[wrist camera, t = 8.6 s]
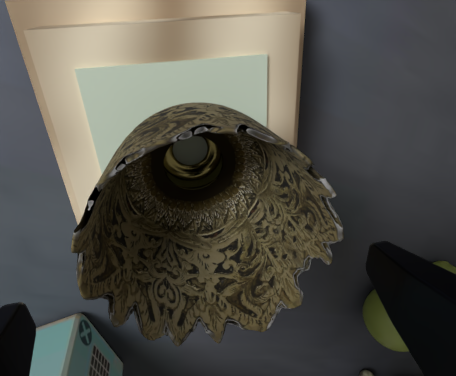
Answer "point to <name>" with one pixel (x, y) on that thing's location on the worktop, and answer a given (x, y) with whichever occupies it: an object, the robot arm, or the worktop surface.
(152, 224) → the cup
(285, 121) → the oak plinth
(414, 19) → the worktop surface
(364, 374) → the tabletop clock
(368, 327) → the pear
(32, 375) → the light blue cardboard box
